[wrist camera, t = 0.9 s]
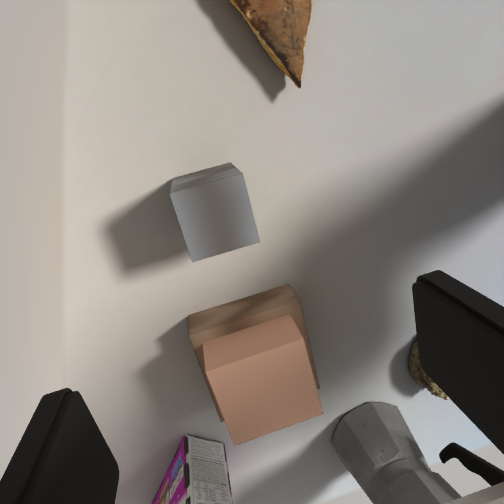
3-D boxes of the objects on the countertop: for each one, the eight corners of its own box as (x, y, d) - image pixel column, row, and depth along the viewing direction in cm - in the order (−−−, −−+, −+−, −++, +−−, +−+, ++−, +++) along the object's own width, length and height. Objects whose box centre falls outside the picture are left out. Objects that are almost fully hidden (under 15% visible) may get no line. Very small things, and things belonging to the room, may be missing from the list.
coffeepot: (355, 484, 47) (456, 685, 30) (302, 455, 43) (384, 662, 27) (443, 397, 45) (603, 559, 28) (395, 359, 42) (545, 517, 25)
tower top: (289, 313, 33) (303, 338, 29) (308, 383, 36) (323, 413, 32) (202, 343, 33) (205, 372, 29) (229, 411, 36) (234, 445, 32)
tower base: (287, 282, 37) (299, 300, 33) (307, 363, 40) (320, 388, 37) (188, 313, 36) (188, 335, 32) (217, 393, 40) (221, 421, 36)
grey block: (230, 162, 32) (242, 173, 25) (245, 218, 33) (260, 242, 27) (172, 178, 31) (169, 194, 25) (190, 233, 33) (192, 262, 26)
